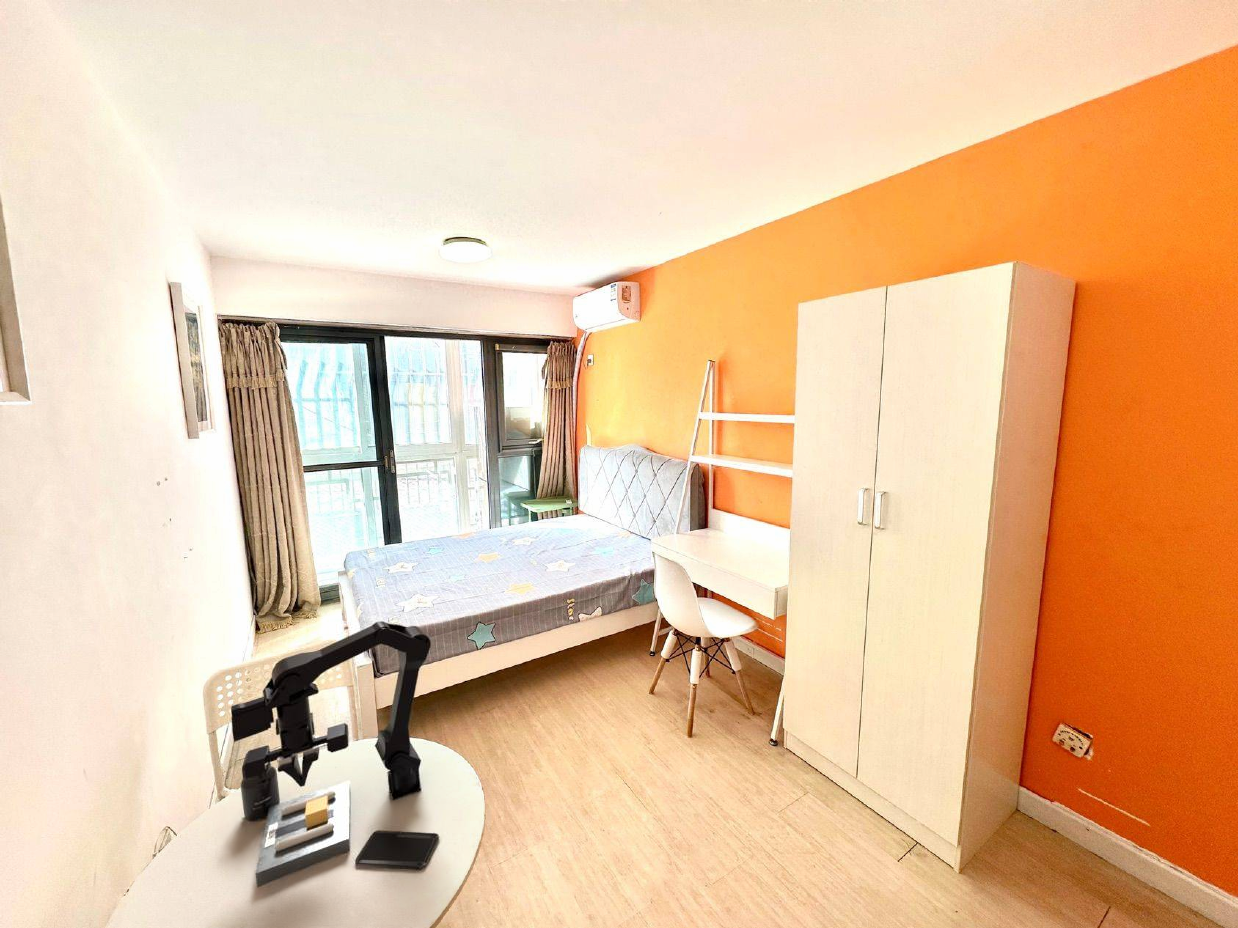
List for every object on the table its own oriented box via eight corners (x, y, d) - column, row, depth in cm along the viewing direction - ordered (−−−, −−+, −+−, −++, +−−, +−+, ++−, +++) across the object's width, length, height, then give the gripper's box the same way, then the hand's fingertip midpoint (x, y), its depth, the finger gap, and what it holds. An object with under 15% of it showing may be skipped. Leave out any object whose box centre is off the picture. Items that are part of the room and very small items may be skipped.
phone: (423, 867, 100) (352, 862, 101) (424, 872, 100) (353, 867, 101) (440, 832, 107) (374, 829, 109) (441, 837, 108) (375, 833, 109)
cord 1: (334, 826, 107) (333, 819, 107) (334, 831, 106) (333, 825, 105) (275, 847, 102) (274, 841, 102) (274, 854, 101) (273, 847, 101)
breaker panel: (350, 791, 120) (349, 780, 120) (350, 850, 105) (348, 837, 104) (270, 818, 113) (269, 806, 112) (257, 886, 97) (255, 873, 97)
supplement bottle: (262, 824, 111) (255, 776, 110) (236, 820, 113) (230, 772, 111) (287, 800, 118) (282, 754, 116) (263, 796, 120) (257, 750, 118)
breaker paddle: (328, 807, 112) (327, 795, 111) (328, 820, 108) (326, 808, 108) (308, 814, 110) (306, 802, 110) (306, 828, 107) (305, 815, 106)
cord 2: (336, 794, 116) (335, 787, 116) (335, 798, 114) (335, 792, 114) (281, 812, 111) (280, 806, 111) (280, 817, 110) (279, 811, 109)
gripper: (345, 686, 116) (351, 746, 118) (247, 711, 108) (256, 776, 110) (344, 712, 107) (351, 777, 109) (236, 742, 98) (247, 812, 100)
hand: (302, 784), depth 107 cm, fingers closed
